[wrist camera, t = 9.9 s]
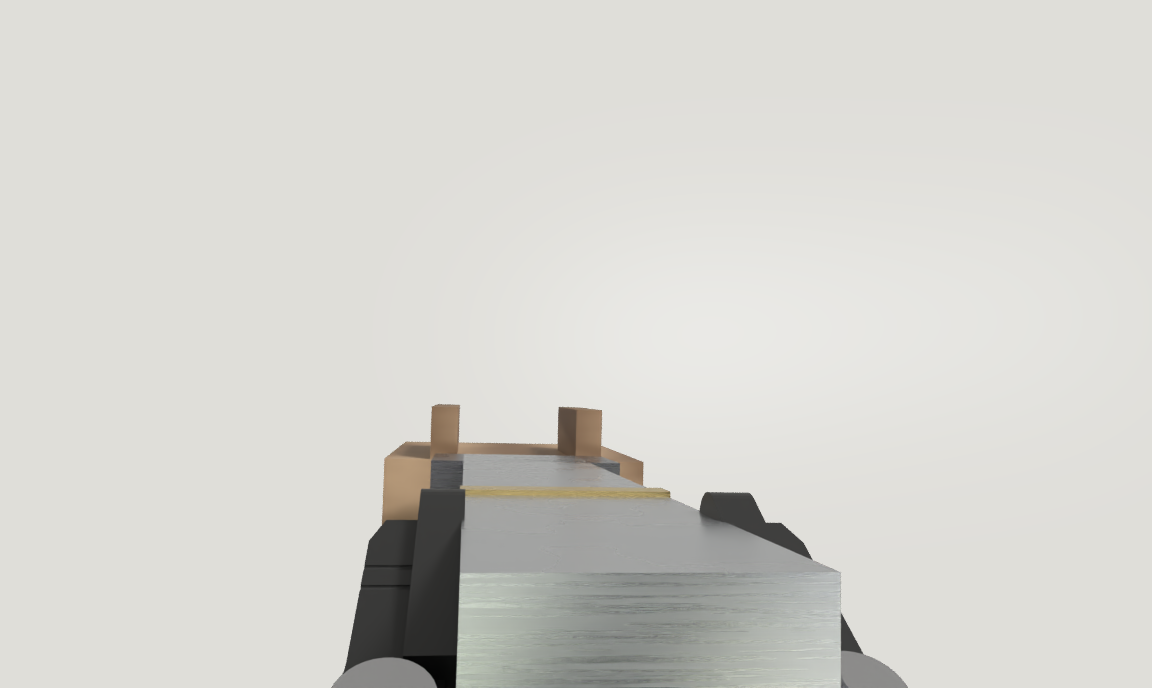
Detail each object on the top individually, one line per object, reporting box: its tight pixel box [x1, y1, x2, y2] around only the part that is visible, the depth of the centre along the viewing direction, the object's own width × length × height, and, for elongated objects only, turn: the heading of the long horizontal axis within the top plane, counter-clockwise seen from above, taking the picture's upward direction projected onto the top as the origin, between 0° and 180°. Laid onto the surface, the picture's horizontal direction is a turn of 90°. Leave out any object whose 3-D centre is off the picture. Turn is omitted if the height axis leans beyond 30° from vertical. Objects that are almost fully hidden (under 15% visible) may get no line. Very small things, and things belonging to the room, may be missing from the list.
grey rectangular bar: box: [430, 453, 841, 688], centre depth 19 cm, size 22×6×4 cm, turn 8°
